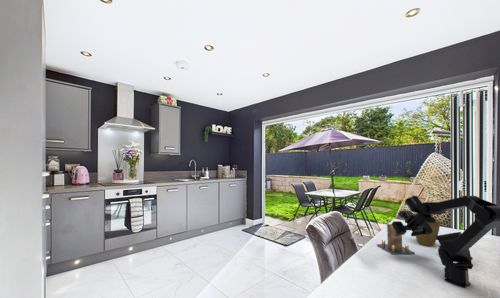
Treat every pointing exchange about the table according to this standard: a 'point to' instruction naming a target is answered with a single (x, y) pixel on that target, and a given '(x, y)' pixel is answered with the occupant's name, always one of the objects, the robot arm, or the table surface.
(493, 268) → the table surface
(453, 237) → the black shoulder bracket
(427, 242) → the plant pot
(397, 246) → the walnut block
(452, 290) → the table surface
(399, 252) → the standoff plate
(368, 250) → the table surface
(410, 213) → the robot arm
